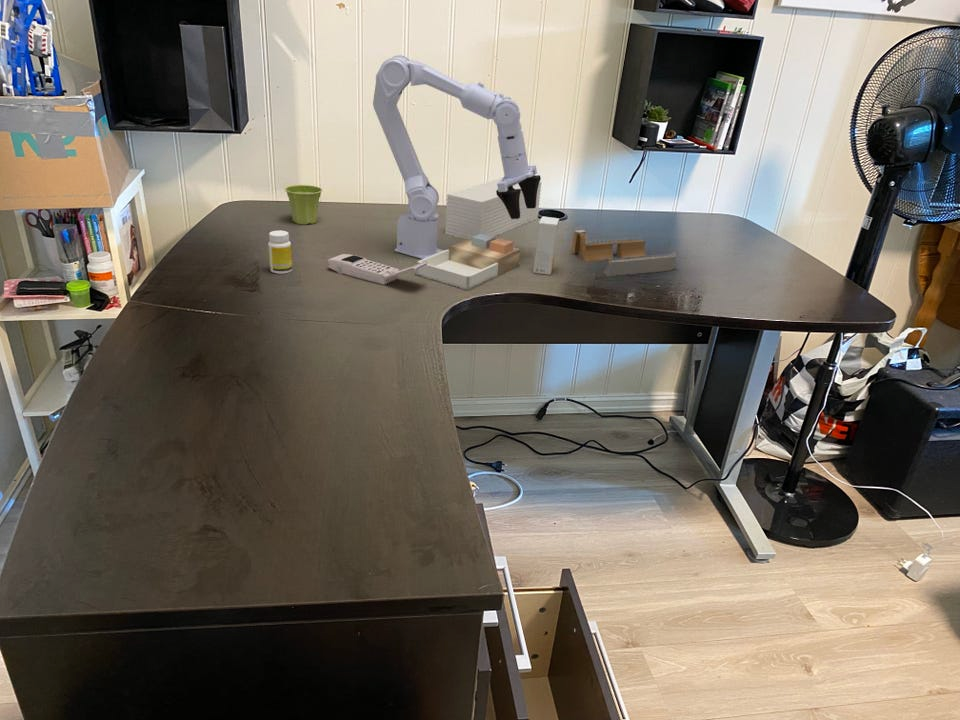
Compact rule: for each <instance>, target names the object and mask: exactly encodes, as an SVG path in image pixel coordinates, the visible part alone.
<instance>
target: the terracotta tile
mask: <svg viewBox="0 0 960 720" xmlns="http://www.w3.org/2000/svg"><path fill="white" fill-rule="evenodd" d="M513 247H514V241H512V240H509V239H504V238H501V237H498V238H495V240H493V241H491V242H490V247H489V250H491V251H495V252H498V253H502V254H505V253H507V252H510V251H512V250H513Z"/></svg>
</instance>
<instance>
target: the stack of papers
mask: <svg viewBox="0 0 960 720" xmlns="http://www.w3.org/2000/svg"><path fill="white" fill-rule="evenodd" d="M502 178H503V177H501V178H496V179H493V180H490V181H486V182H483V183H480V184H477V185H473V186H470V187H467V188H463V189H460V190H457V191H453V192H449V193H447V194H446V210H445V212H446V213H445V227H444V228H445V231H444V233H445V235H448V234H449V236H452V235H453V236H452V237H456V236H457V238H459V237H460V239H463V238H465V239H464V240H467V239H471V238H472V237H473V236H476V235H478V234H485V235H489V236H494V237H496V236H498V234H499V235H501V234H503V232H504V233H506V232H508V231H510V230H509V229H511V230H513V229H515V228H514V227H516V226H518V227H520V226H522V225H521V224H523V225H525V224H528V223H530V222H532V221H534V219H535V220H537V219H538V218H539V209H540V201H541V200H540V199H541V191H542V190H541V189H542V181H540V182H539V186H538V190H537V199H536V208H529V209H527V207H526V204H525V200H524V196H523V193H522V190H521V192H520V198H519V206H520V218H519V219H511V217H510V215H509V213H508V211H507V209H506V207H505V205H504V203H503V202H502V200H501V199H500V198H499V197H498V196H497V193H496V191H497V190H498V186H497V183H499V182H500V181H501V180H502ZM513 188H514V189H521V188H520V186H519V184H518V183H517V184H516V185H514V186H513ZM529 221H530V222H529ZM524 223H525V224H524ZM519 225H520V226H519ZM512 228H513V229H512ZM516 228H517V227H516ZM507 230H508V231H507ZM505 231H506V232H505Z"/></svg>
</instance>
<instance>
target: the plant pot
mask: <svg viewBox="0 0 960 720" xmlns="http://www.w3.org/2000/svg"><path fill="white" fill-rule="evenodd" d="M284 192H286V195H287V197H288V202H289V206H290V211H291V216H292V222H294V223H295V224H298V225H308V224H312V225H313V224H315V223H317V220H318V213H319V203H320V197H321V193H322V192H323V188H322V187H319V186H316V185H310V184H295V185H289V186H286V187H285V188H284Z"/></svg>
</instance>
